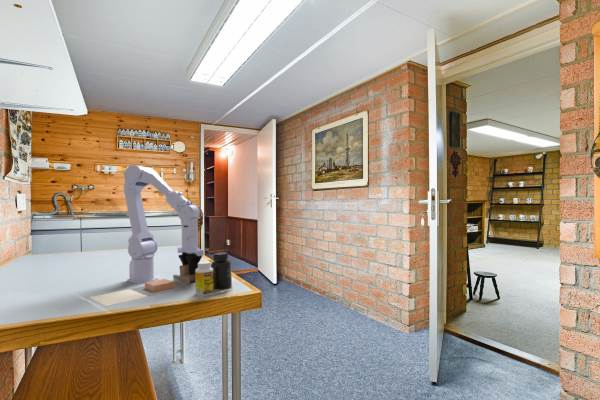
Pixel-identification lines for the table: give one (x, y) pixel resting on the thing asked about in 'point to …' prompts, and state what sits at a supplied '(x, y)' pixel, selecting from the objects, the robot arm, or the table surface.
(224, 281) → the supplement bottle
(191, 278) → the pusher
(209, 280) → the supplement bottle
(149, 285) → the terracotta tile
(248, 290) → the table surface
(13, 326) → the table surface
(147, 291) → the board
